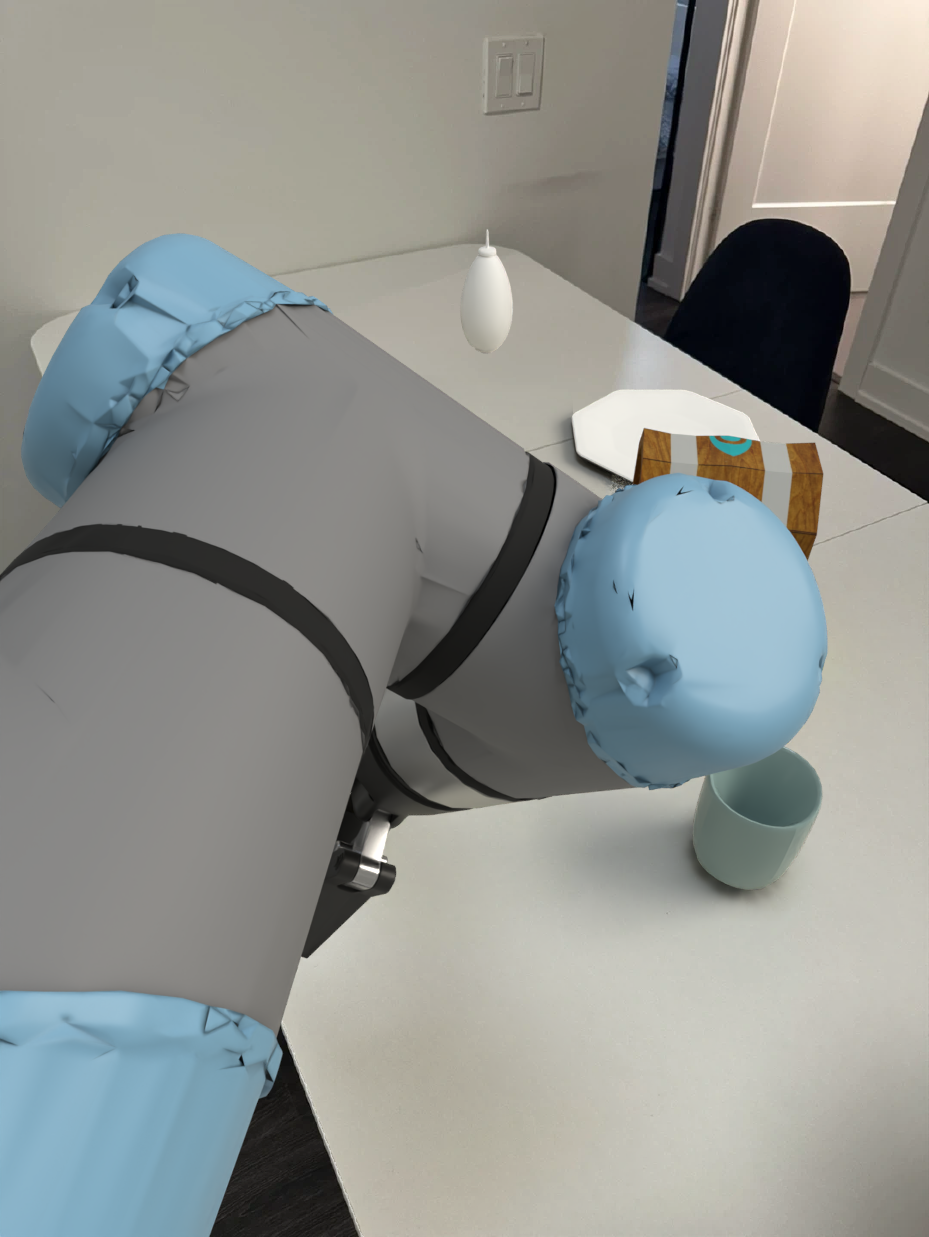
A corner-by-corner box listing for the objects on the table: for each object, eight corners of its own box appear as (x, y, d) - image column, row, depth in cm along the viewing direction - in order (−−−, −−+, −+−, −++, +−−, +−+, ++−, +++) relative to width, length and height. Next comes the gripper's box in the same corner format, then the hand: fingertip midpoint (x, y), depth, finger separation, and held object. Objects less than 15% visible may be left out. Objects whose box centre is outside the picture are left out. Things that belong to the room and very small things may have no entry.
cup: (772, 923, 61) (810, 848, 54) (669, 876, 64) (693, 799, 57) (797, 841, 66) (835, 763, 59) (701, 801, 68) (726, 722, 62)
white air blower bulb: (516, 342, 131) (520, 222, 119) (505, 365, 126) (508, 240, 113) (467, 337, 133) (467, 217, 120) (455, 359, 127) (453, 236, 115)
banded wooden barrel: (834, 453, 68) (647, 437, 70) (800, 610, 72) (625, 590, 74) (786, 426, 86) (638, 413, 88) (761, 552, 91) (622, 538, 93)
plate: (686, 519, 97) (688, 508, 96) (535, 442, 109) (536, 432, 108) (792, 443, 109) (795, 433, 108) (645, 382, 121) (647, 372, 120)
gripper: (458, 1083, 29) (295, 1000, 47) (597, 493, 39) (418, 613, 57) (255, 1032, 27) (165, 966, 45) (458, 416, 36) (317, 567, 55)
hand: (307, 768), depth 51 cm, fingers open, 13 cm apart
